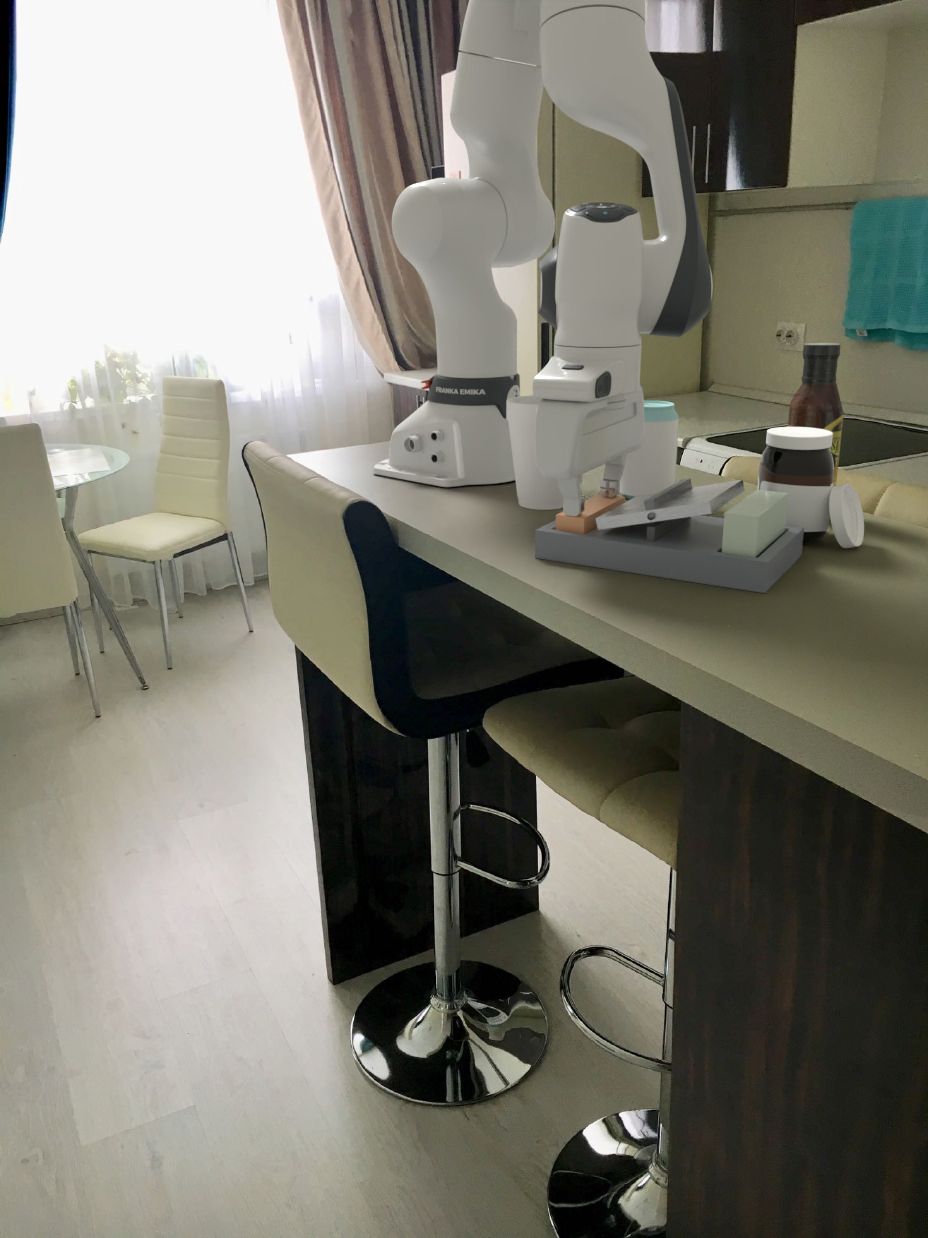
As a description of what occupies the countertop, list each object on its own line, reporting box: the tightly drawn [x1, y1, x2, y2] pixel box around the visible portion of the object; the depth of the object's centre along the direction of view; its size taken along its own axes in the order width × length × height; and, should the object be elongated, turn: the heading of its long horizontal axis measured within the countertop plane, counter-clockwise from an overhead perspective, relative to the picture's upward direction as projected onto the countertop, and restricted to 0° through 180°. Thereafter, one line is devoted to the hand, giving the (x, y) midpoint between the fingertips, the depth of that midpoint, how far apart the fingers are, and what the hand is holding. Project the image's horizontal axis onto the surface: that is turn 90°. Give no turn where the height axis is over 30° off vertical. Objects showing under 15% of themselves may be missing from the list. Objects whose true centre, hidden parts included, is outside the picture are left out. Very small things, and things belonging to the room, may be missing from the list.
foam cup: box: [506, 394, 563, 511], centre depth 126 cm, size 10×9×13 cm
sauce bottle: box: [786, 342, 845, 487], centre depth 119 cm, size 6×6×20 cm
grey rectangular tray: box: [534, 515, 804, 594], centre depth 105 cm, size 24×14×4 cm, turn 59°
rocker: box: [595, 478, 746, 530], centre depth 103 cm, size 12×12×2 cm
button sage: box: [721, 489, 788, 557], centre depth 99 cm, size 3×11×4 cm, turn 149°
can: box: [620, 400, 680, 500], centre depth 129 cm, size 7×7×12 cm
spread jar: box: [756, 426, 865, 549], centre depth 109 cm, size 12×11×12 cm
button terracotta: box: [555, 493, 626, 534], centre depth 109 cm, size 3×11×4 cm, turn 149°
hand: (592, 505), depth 108 cm, fingers open, 8 cm apart
